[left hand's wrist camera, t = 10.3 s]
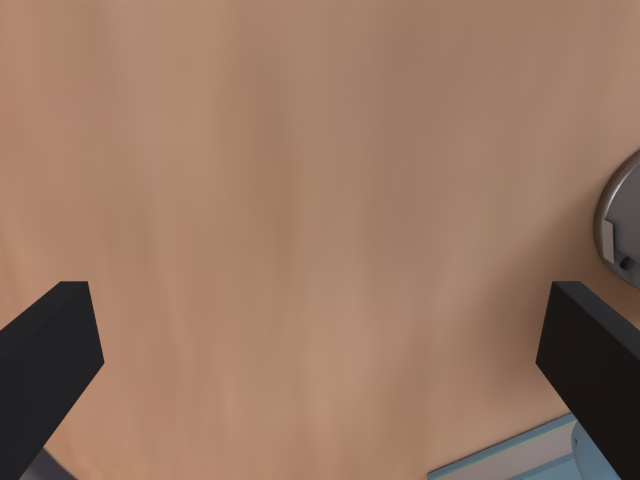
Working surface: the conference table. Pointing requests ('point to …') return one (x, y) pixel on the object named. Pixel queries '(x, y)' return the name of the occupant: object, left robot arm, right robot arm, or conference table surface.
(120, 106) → the conference table surface
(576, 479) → the book
